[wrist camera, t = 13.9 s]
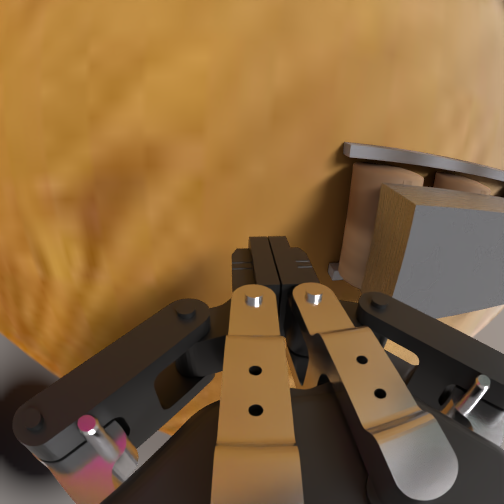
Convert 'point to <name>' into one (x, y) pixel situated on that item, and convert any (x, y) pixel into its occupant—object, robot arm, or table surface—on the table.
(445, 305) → the slab
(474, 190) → the roller bed
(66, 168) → the table surface
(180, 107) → the table surface
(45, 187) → the table surface
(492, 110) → the table surface
